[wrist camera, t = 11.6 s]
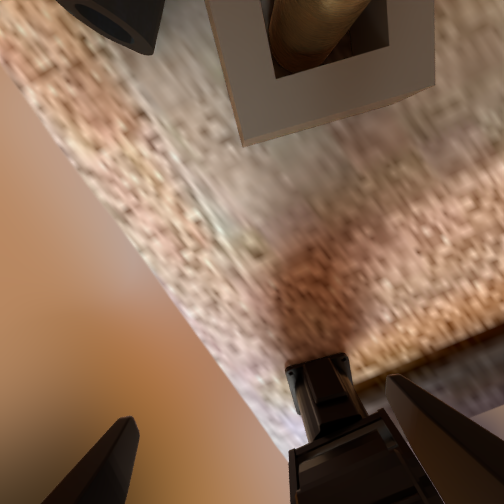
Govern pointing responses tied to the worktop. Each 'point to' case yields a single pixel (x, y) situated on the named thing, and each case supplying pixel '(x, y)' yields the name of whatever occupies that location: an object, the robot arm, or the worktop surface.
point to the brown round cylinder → (309, 30)
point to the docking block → (322, 67)
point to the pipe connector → (121, 20)
